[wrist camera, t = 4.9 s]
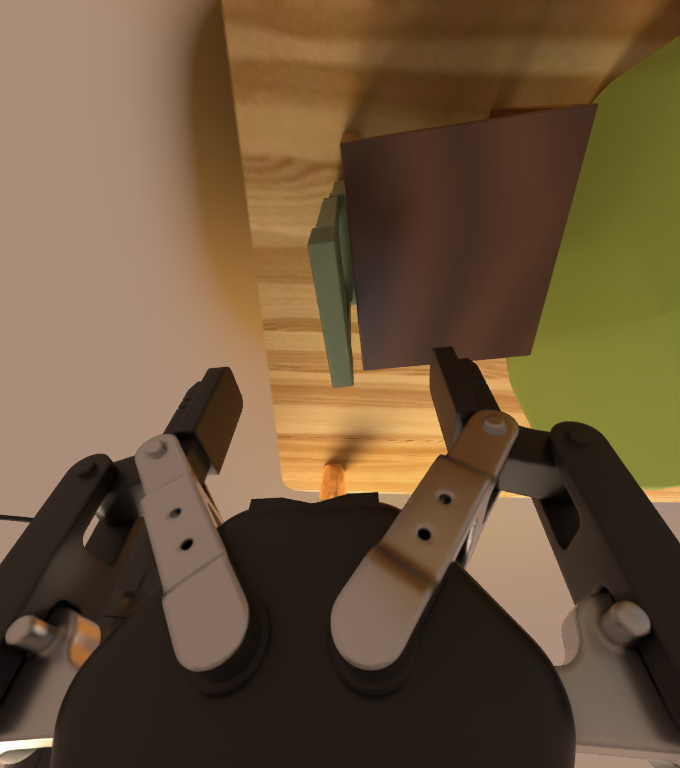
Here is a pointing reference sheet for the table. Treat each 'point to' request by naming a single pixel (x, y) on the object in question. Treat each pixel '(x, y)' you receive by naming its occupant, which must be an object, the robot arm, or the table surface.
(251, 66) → the table surface
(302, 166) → the table surface
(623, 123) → the green and pink pieces
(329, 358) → the chair
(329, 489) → the milkshake
